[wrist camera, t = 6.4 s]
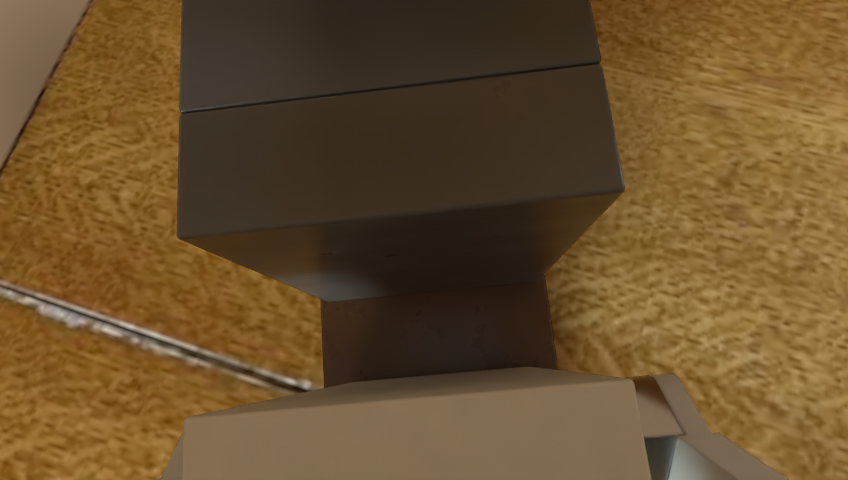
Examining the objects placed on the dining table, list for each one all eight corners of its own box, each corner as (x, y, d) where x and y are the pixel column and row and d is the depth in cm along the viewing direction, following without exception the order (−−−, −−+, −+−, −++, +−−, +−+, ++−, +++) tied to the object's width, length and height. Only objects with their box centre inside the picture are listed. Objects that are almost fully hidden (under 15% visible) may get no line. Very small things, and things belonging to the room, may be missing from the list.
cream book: (538, 431, 18) (665, 554, 7) (353, 446, 18) (177, 588, 7) (530, 366, 18) (635, 378, 7) (350, 382, 19) (181, 418, 7)
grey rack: (568, 480, 18) (739, 675, 7) (336, 498, 19) (145, 708, 8) (508, 61, 22) (556, -246, 11) (318, 84, 23) (174, -188, 11)
